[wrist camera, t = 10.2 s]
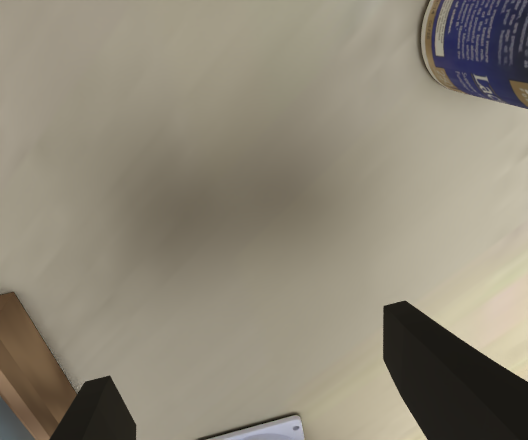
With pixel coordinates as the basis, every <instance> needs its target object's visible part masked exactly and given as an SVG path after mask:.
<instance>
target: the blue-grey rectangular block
mask: <svg viewBox="0 0 528 440" xmlns="http://www.w3.org/2000/svg"><path fill="white" fill-rule="evenodd" d="M0 440H35V439H34V437H33V436H32V435H31V434H30V432H29V431H28V430H27V429H26V427H25V426H24V425H23V424H22V422H21V421H20V420H19V419H18V417H17V416H16V415H15V414H14V412H13V411H12V410H11V409H10V407H9V406H8V405H7V404H6V402H5V401H4V400H3V399H2V398H1V396H0Z"/></svg>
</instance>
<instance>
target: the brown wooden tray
mask: <svg viewBox="0 0 528 440" xmlns="http://www.w3.org/2000/svg"><path fill="white" fill-rule="evenodd" d="M76 395H77V394H76V392H75V391H74V389H73V388H72V386H71V384H70V383H69V381H68V379H67V378H66V376H65V375H64V373H63V371H62V370H61V368H60V366H59V365H58V363H57V362H56V360H55V358H54V357H53V355H52V354H51V352H50V350H49V349H48V347H47V345H46V344H45V342H44V341H43V339H42V337H41V336H40V334H39V332H38V331H37V329H36V328H35V326H34V324H33V323H32V321H31V319H30V318H29V316H28V315H27V313H26V311H25V310H24V308H23V307H22V305H21V303H20V302H19V300H18V298H17V297H16V295H15V294H14V292H12V293H7V294H3V295H0V396H1V398H2V399H3V400H4V401H5V402H6V404H7V405H8V406H9V407H10V409H11V410H12V411H13V412H14V414H15V415H16V416H17V417H18V419H19V420H20V421H21V422H22V424H23V425H24V426H25V427H26V429H27V430H28V431H29V432H30V434H31V435H32V436H33V437H34V439H35V440H49V439H50V437H51V436H52V434H53V433H54V431H55V429H56V428H57V426H58V424H59V423H60V421H61V420H62V418H63V416H64V415H65V413H66V411H67V410H68V408H69V407H70V405H71V403H72V402H73V400H74V399H75V397H76Z"/></svg>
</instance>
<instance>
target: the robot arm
mask: <svg viewBox="0 0 528 440" xmlns="http://www.w3.org/2000/svg"><path fill="white" fill-rule="evenodd" d="M383 359H384V362H385V364H386V366H387V368H388V370H389V372H390V375H391V377H392V379H393V381H394V383H395V385H396V387H397V389H398V391H399V393H400V395H401V397H402V399H403V400H404V402H405V404H406V405H407V407H408V408H409V410H410V412H411V413H412V415H413V417H414V418H415V420H416V421H417V423H418V425H419V426H420V428H421V430H422V431H423V433H424V434H425V436H426V438H427V439H428V440H528V382H527V381H525V380H524V379H522V378H520V377H519V376H517V375H515V374H514V373H512V372H510V371H509V370H507V369H506V368H504V367H502V366H501V365H499V364H498V363H496V362H494V361H493V360H491V359H490V358H488V357H487V356H485V355H484V354H482V353H481V352H479V351H478V350H476V349H475V348H473V347H472V346H470V345H468V344H467V343H465V342H464V341H463V340H461V339H460V338H458V337H457V336H455V335H454V334H452V333H451V332H449V331H448V330H447V329H445V328H444V327H442V326H441V325H439V324H438V323H437V322H435V321H434V320H432V319H431V318H429V317H428V316H427V315H425V314H424V313H422V312H421V311H420V310H418V309H417V308H415V307H414V306H412V305H411V304H409V303H408V302H407V301H401V302H397V303H394V304H390V305H386V306H384V317H383ZM49 440H136V424H135V422H134V420H133V418H132V416H131V414H130V412H129V411H128V409H127V407H126V405H125V403H124V401H123V399H122V397H121V395H120V394H119V392H118V390H117V388H116V386H115V384H114V382H113V380H112V378H111V377H110V376H106V377H102V378H98V379H95V380H91V381H87V382H85V383H84V384H83V386H82V387H81V389H80V391H79V392H78V394H77V395H76V397H75V399H74V400H73V402H72V403H71V405H70V407H69V408H68V410H67V411H66V413H65V415H64V416H63V418H62V420H61V421H60V423H59V424H58V426H57V428H56V429H55V431H54V433H53V434H52V436H51V437H50V439H49ZM206 440H305V439H304V433H303V427H302V421H301V418H300V416H298V415H294V416H290V417H286V418H282V419H279V420H275V421H272V422H268V423H264V424H261V425H257V426H253V427H250V428H246V429H243V430H239V431H235V432H232V433H228V434H224V435H221V436H217V437H214V438H210V439H206Z"/></svg>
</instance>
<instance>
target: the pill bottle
mask: <svg viewBox="0 0 528 440" xmlns="http://www.w3.org/2000/svg"><path fill="white" fill-rule="evenodd" d="M421 48H422V54H423V58H424V61H425V64H426V67H427V69H428V70H429V72H430V74H431V75H432V76H433V78H434V79H435V80H436V81H437V82H439V83H440V84H441V85H443V86H444V87H446V88H448V89H451V90H454V91H458V92H461V93H465V94H469V95H473V96H477V97H482V98H486V99H490V100H494V101H498V102H502V103H506V104H510V105H514V106H518V107H522V108H526V109H528V0H430V2H429V5H428V7H427V10H426V13H425V16H424V20H423V25H422V32H421Z"/></svg>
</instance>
